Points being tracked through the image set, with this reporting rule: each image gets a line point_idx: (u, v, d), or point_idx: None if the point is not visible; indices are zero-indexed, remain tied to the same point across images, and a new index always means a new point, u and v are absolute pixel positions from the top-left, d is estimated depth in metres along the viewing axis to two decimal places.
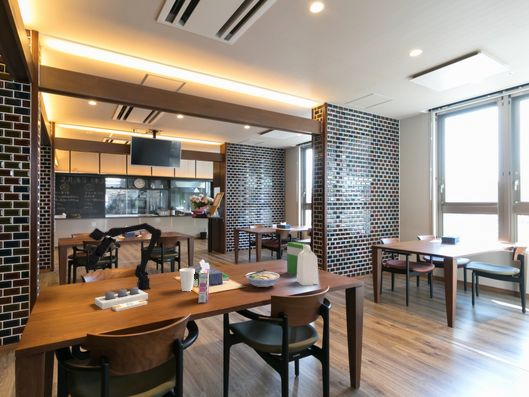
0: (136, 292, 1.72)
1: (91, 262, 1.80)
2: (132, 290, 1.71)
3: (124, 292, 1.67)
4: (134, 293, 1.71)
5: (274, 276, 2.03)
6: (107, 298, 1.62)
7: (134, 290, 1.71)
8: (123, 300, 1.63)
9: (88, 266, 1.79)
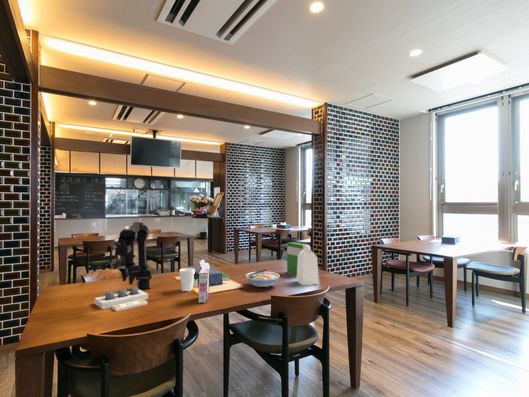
0: (136, 292, 1.72)
1: (132, 275, 1.57)
2: (132, 290, 1.71)
3: (124, 292, 1.67)
4: (134, 293, 1.71)
5: (274, 276, 2.03)
6: (107, 298, 1.62)
7: (134, 290, 1.71)
8: (123, 300, 1.63)
9: (131, 280, 1.57)
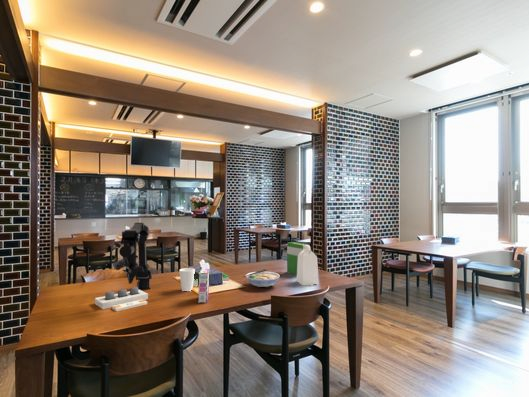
0: (136, 292, 1.72)
1: (131, 274, 1.60)
2: (132, 290, 1.71)
3: (124, 292, 1.67)
4: (134, 293, 1.71)
5: (274, 276, 2.03)
6: (107, 298, 1.62)
7: (134, 290, 1.71)
8: (123, 300, 1.63)
9: (131, 279, 1.60)
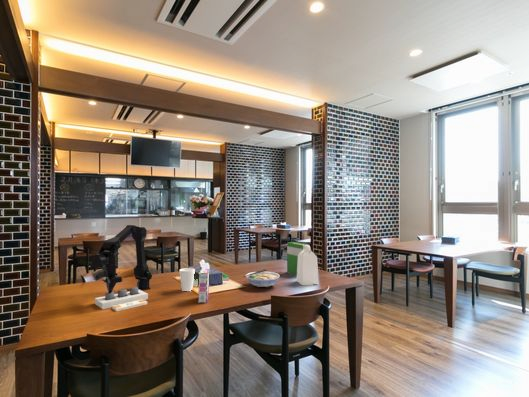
0: (136, 292, 1.72)
1: (111, 284, 1.63)
2: (132, 290, 1.71)
3: (124, 292, 1.67)
4: (134, 293, 1.71)
5: (274, 276, 2.03)
6: (107, 298, 1.62)
7: (134, 290, 1.71)
8: (123, 300, 1.63)
9: (110, 289, 1.63)
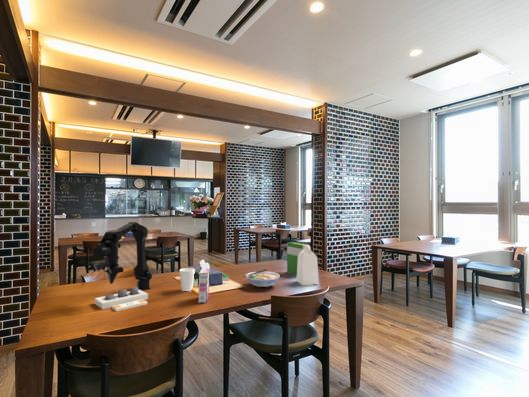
0: (136, 292, 1.72)
1: (112, 274, 1.64)
2: (132, 290, 1.71)
3: (124, 292, 1.67)
4: (134, 293, 1.71)
5: (274, 276, 2.03)
6: None
7: (134, 290, 1.71)
8: (123, 300, 1.63)
9: (112, 279, 1.64)
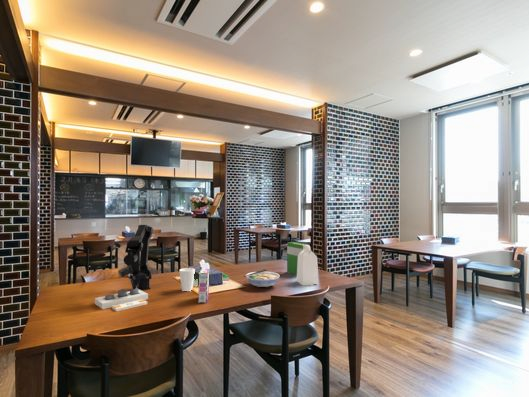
0: (136, 293, 1.72)
1: (135, 280, 1.72)
2: (132, 291, 1.71)
3: (124, 292, 1.67)
4: (134, 294, 1.71)
5: (274, 276, 2.03)
6: None
7: (134, 291, 1.71)
8: (123, 300, 1.63)
9: (135, 285, 1.72)
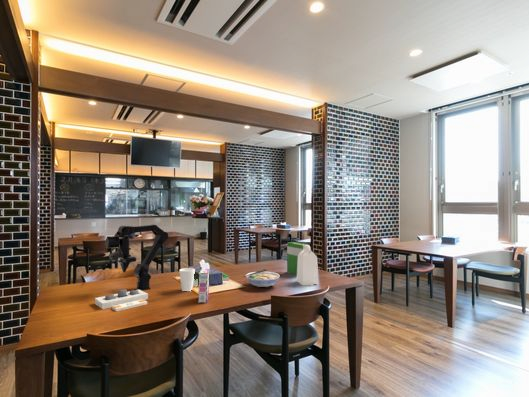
0: None
1: (125, 264, 1.83)
2: (132, 293, 1.71)
3: (124, 292, 1.67)
4: None
5: (274, 276, 2.03)
6: None
7: (134, 293, 1.71)
8: (123, 300, 1.63)
9: (124, 268, 1.84)
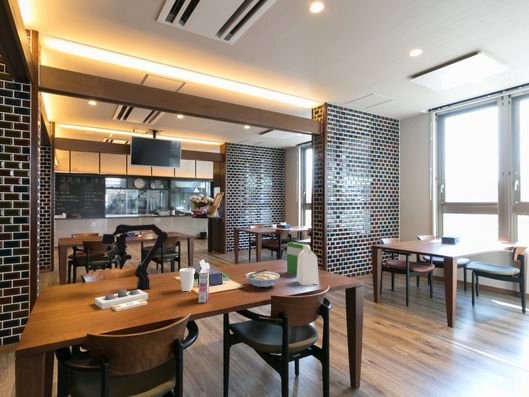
0: None
1: (121, 261, 1.88)
2: (132, 293, 1.71)
3: (124, 292, 1.67)
4: None
5: (274, 276, 2.03)
6: None
7: (134, 293, 1.71)
8: (123, 300, 1.63)
9: (121, 266, 1.88)
